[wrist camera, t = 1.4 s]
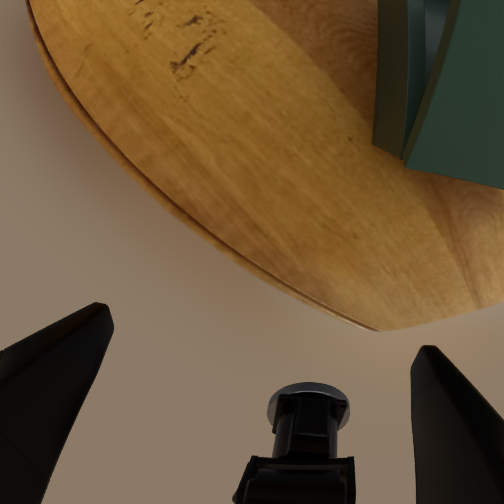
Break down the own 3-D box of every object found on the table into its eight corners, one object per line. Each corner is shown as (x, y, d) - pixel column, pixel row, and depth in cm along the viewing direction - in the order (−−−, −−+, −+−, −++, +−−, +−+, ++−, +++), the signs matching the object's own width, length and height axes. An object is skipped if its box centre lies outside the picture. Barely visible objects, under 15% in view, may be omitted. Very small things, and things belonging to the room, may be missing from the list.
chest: (375, -35, 12) (396, -87, 6) (512, 11, 11) (566, -8, 5) (371, 144, 18) (400, 159, 12) (508, 174, 16) (566, 203, 10)
